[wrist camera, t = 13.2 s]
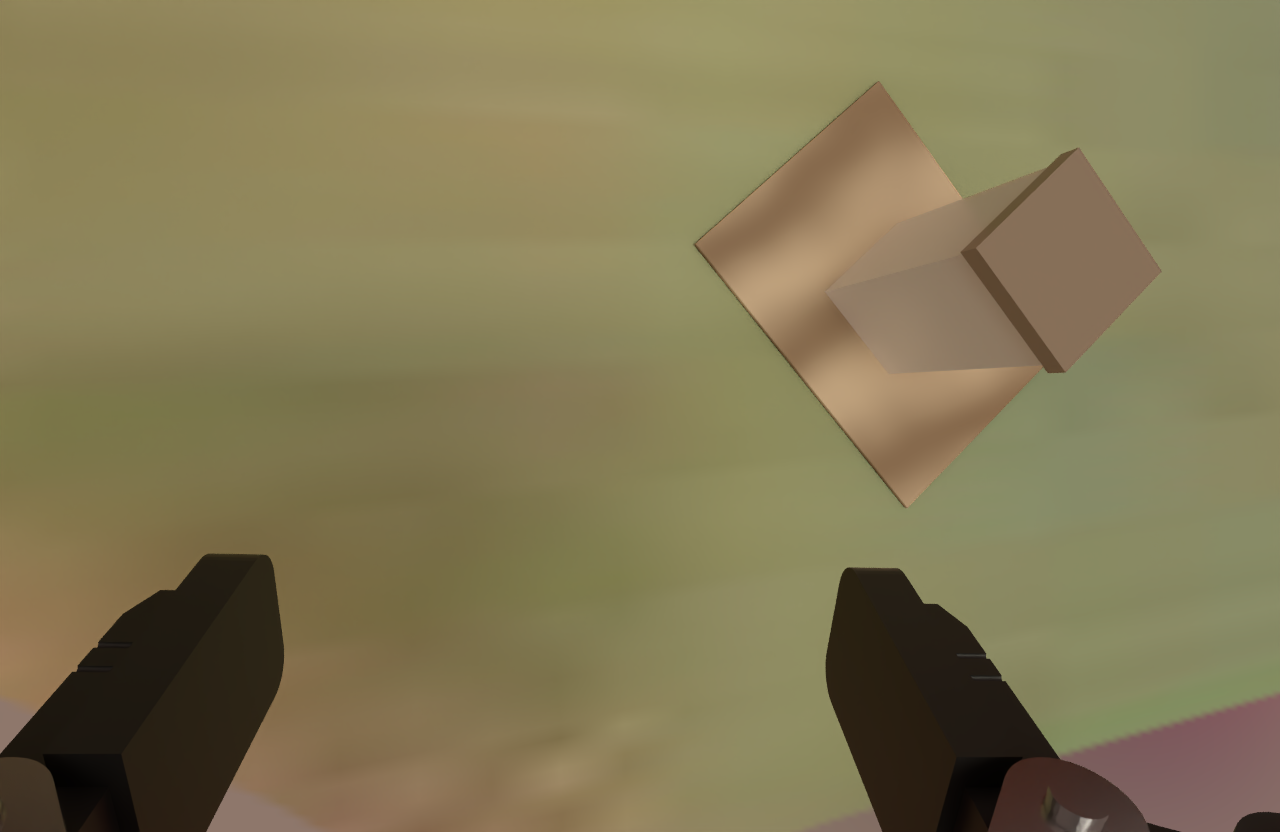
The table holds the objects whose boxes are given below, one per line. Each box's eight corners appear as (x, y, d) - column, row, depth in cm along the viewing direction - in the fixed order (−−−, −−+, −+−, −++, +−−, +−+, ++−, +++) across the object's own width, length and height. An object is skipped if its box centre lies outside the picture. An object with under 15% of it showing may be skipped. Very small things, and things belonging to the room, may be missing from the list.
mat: (693, 244, 35) (695, 243, 35) (876, 82, 37) (878, 81, 37) (904, 507, 38) (907, 508, 38) (1062, 343, 40) (1066, 343, 40)
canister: (818, 291, 37) (975, 247, 26) (897, 217, 38) (1078, 147, 27) (888, 379, 38) (1065, 372, 27) (962, 305, 39) (1161, 270, 28)
